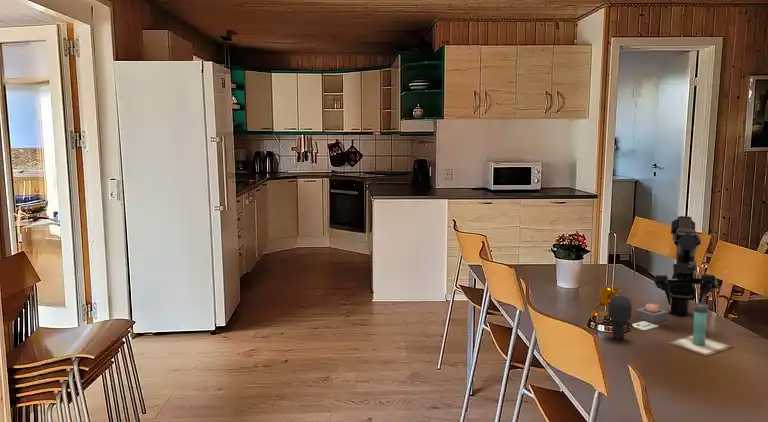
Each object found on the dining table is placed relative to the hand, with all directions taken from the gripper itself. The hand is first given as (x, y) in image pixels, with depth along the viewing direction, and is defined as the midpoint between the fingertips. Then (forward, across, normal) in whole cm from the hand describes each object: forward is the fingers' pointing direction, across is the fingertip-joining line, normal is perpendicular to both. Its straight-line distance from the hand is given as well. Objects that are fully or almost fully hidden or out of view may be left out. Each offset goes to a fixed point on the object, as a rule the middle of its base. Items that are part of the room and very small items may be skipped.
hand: (684, 304), depth 193 cm
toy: (+17, -18, -9) cm, 27 cm away
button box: (0, -14, +15) cm, 20 cm away
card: (+6, -14, +6) cm, 16 cm away
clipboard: (+14, +4, 0) cm, 15 cm away
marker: (+13, +4, 0) cm, 14 cm away
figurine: (+3, -28, +7) cm, 29 cm away
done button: (-2, -13, +14) cm, 19 cm away
